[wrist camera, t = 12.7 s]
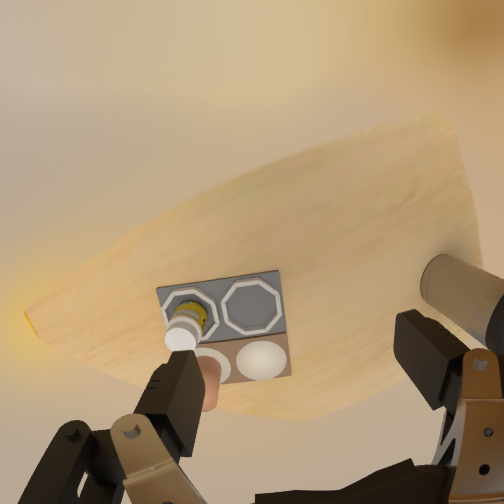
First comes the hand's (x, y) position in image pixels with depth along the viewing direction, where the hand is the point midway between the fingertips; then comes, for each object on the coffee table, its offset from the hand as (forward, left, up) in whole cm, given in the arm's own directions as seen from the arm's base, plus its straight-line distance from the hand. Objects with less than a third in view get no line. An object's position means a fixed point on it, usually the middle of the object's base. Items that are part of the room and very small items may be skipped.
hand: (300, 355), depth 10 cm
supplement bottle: (+12, +10, -28) cm, 32 cm away
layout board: (+8, +15, -28) cm, 33 cm away
